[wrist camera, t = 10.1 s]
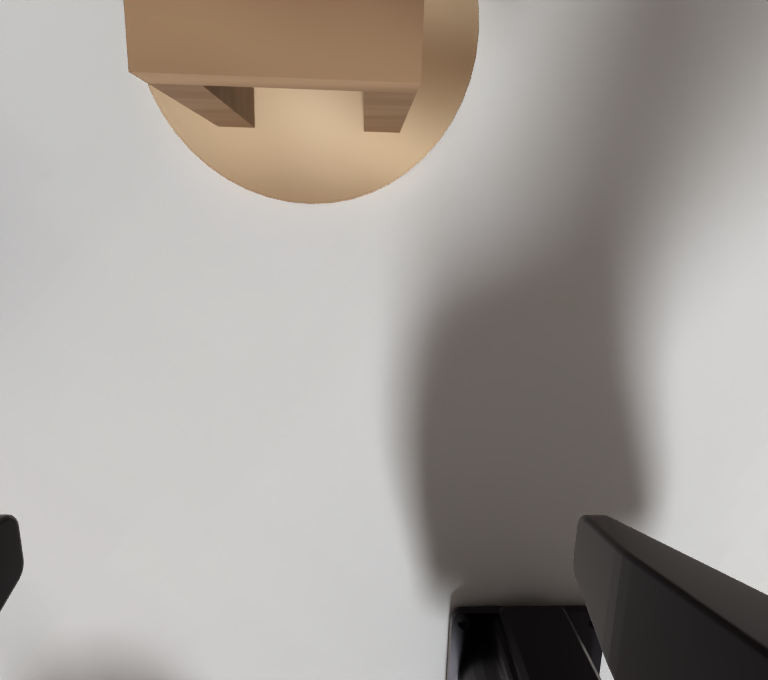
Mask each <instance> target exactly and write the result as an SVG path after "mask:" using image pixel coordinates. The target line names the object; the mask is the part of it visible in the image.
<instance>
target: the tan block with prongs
mask: <svg viewBox="0 0 768 680" xmlns="http://www.w3.org/2000/svg"><path fill="white" fill-rule="evenodd" d="M124 12H125V27H126V41H127V55H128V69H129V72H130V73H132V74H133V75H135V76H136V77H138V78H140V79H141V80H143V81H145V82H146V83H148V84H149V85H151V86H153V87H154V88H156V89H158V90H159V91H161V92H162V93H164V94H166V95H167V96H169V97H171V98H172V99H174V100H176V101H177V102H179V103H180V104H182V105H184V106H185V107H187V108H189V109H190V110H192V111H193V112H195V113H197V114H198V115H200V116H202V117H203V118H205V119H207V120H208V121H210V122H211V123H213V124H215V125H216V126H218V127H244V128H255V113H254V88H253V87H258V88H285V89H312V90H339V91H364V132H390V133H400V131H401V129H402V126H403V124H404V122H405V119H406V117H407V115H408V112H409V110H410V107H411V105H412V103H413V100H414V98H415V96H416V93H417V91H418V89H419V86H420V84H421V70H422V45H423V19H424V0H124Z"/></svg>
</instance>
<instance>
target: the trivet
mask: <svg viewBox="0 0 768 680" xmlns="http://www.w3.org/2000/svg"><path fill="white" fill-rule="evenodd" d="M478 34H479V7H478V0H424V19H423V45H422V70H421V84H420V86H419V89H418V91H417V93H416V96H415V98H414V100H413V103H412V105H411V107H410V110H409V112H408V115H407V117H406V119H405V122H404V124H403V126H402V129H401V131H400V133H390V132H364V91H339V90H312V89H285V88H258V87H253V88H254V113H255V128H244V127H218V126H216V125H215V124H213V123H211V122H210V121H208V120H207V119H205V118H203V117H202V116H200V115H198V114H197V113H195V112H193V111H192V110H190V109H189V108H187V107H185V106H184V105H182V104H180V103H179V102H177V101H176V100H174V99H172V98H171V97H169V96H167V95H166V94H164V93H162V92H161V91H159V90H158V89H156V88H154V87H153V86H151V85H149V84H148V86H149V88H150V91H151V93H152V95H153V97H154V99H155V101H156V103H157V104H158V106H159V108H160V110H161V112H162V114H163V115H164V117H165V118H166V120H167V121H168V123H169V124H170V126H171V127H172V128H173V130H174V131H175V133H176V134H177V135H178V136H179V137H180V139H181V140H182V141H183V142H184V143H185V144H186V145H187V147H188V148H189V149H190V150H191V151H192V152H193V153H194V154H195V155H197V156H198V157H199V158H200V159H201V160H202V161H203V162H204V163H205V164H207V165H208V166H209V167H210V168H212V169H213V170H215V171H216V172H218V173H219V174H220V175H222V176H223V177H225V178H226V179H228V180H230V181H232V182H234V183H236V184H237V185H239V186H241V187H243V188H245V189H247V190H250V191H253V192H255V193H258V194H261V195H263V196H266V197H270V198H274V199H279V200H283V201H288V202H296V203H307V204H320V203H334V202H340V201H345V200H351V199H354V198H357V197H360V196H363V195H366V194H369V193H372V192H374V191H376V190H378V189H380V188H382V187H384V186H386V185H389V184H390V183H392V182H393V181H395V180H396V179H398V178H399V177H401V176H402V175H404V174H405V173H407V172H408V171H409V170H410V169H411V168H413V167H414V166H415V165H416V164H417V163H418V162H420V161H421V160H422V159H423V158H424V157H425V156H426V155H427V154H428V152H429V151H430V150H431V149H432V148H433V147H434V146H435V145H436V143H437V142H438V141H439V140H440V138H441V137H442V136H443V134H444V133H445V131H446V130H447V128H448V127H449V125H450V124H451V122H452V121H453V119H454V117H455V115H456V113H457V111H458V109H459V107H460V105H461V103H462V101H463V98H464V96H465V93H466V90H467V87H468V85H469V82H470V79H471V75H472V71H473V66H474V62H475V58H476V51H477V42H478Z"/></svg>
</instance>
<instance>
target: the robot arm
mask: <svg viewBox="0 0 768 680" xmlns="http://www.w3.org/2000/svg"><path fill="white" fill-rule="evenodd" d="M23 564H24V559H23V552H22V545H21V538H20V531H19V525H18V521H17V519H16V518H15V517H14V516H12V515H0V611H1V609H2V608H3V606H4V604H5V603H6V601H7V599H8V597H9V596H10V594H11V592H12V591H13V589H14V587H15V586H16V584H17V582H18V581H19V579H20V576H21V574H22V571H23ZM574 571H575V575H576V578H577V581H578V584H579V587H580V590H581V592H582V595H583V598H584V601H585V604H586V606H475V607H458V608H456V609H454V610H453V612H452V613H451V616H450V629H449V646H448V664H447V680H601V678H600V676H599V673H600V665H601V657H602V651H603V654H604V657H605V659H606V662H607V664H608V667H609V669H610V671H611V673H612V676H613V678H614V680H768V595H766V594H764V593H762V592H760V591H758V590H756V589H754V588H752V587H750V586H748V585H746V584H744V583H742V582H740V581H738V580H736V579H734V578H732V577H730V576H728V575H726V574H724V573H722V572H720V571H718V570H716V569H714V568H712V567H710V566H708V565H706V564H704V563H702V562H700V561H698V560H696V559H694V558H692V557H689V556H687V555H685V554H683V553H681V552H679V551H677V550H675V549H673V548H671V547H669V546H667V545H665V544H663V543H661V542H659V541H657V540H655V539H653V538H651V537H649V536H647V535H645V534H643V533H641V532H639V531H637V530H635V529H633V528H631V527H629V526H627V525H625V524H623V523H621V522H619V521H617V520H615V519H613V518H611V517H609V516H606V515H584V516H582V517H581V518H580V519H579V522H578V526H577V535H576V544H575V553H574ZM463 618H465V619H467V620H466V621H464V622H459V620H460V619H463ZM590 619H591V621H589V620H590Z"/></svg>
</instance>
